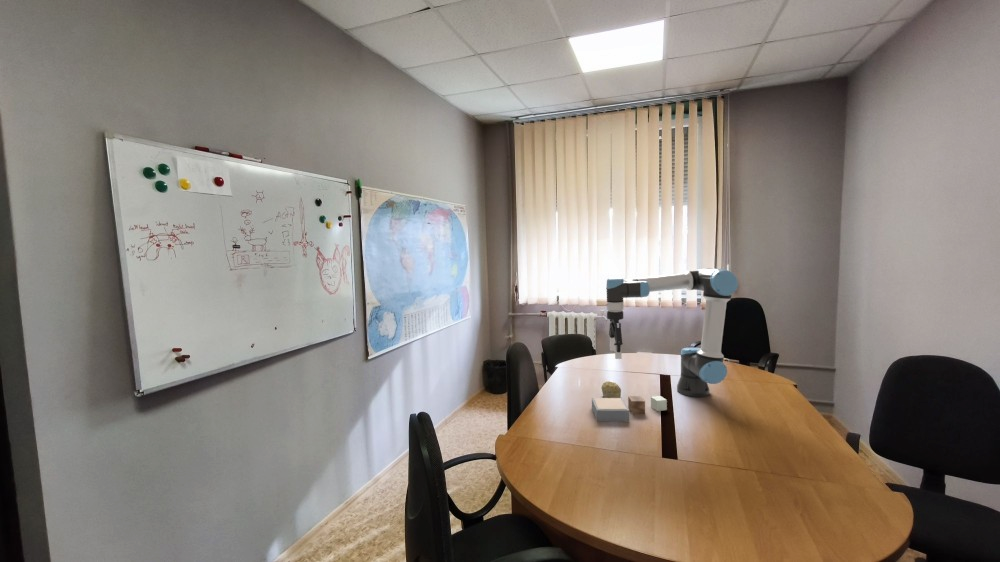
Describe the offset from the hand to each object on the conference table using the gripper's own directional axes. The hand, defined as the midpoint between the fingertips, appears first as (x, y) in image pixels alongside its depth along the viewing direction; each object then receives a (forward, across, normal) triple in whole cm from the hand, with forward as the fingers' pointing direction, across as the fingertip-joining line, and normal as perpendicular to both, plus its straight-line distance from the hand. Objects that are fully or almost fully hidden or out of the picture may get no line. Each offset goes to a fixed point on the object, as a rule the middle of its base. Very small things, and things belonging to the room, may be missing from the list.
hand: (615, 354), depth 185 cm
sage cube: (+25, +3, +19) cm, 32 cm away
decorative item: (+25, -11, 0) cm, 27 cm away
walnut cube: (+25, +6, +8) cm, 27 cm away
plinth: (+25, +10, -5) cm, 28 cm away
